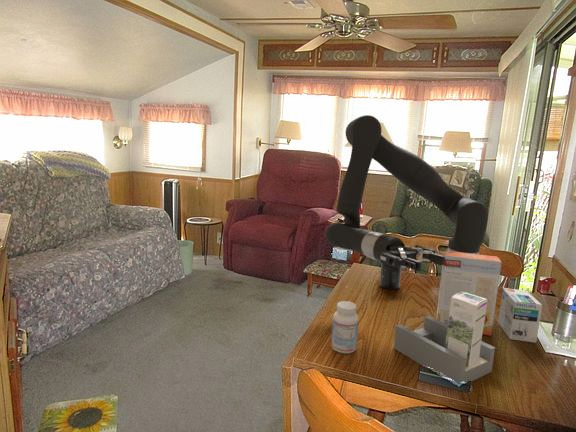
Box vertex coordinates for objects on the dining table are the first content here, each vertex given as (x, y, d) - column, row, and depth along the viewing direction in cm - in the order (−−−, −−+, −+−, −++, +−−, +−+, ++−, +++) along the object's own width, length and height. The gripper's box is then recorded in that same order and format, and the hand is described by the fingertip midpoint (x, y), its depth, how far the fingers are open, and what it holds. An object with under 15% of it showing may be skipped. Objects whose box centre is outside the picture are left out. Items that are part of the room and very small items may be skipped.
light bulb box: (536, 343, 104) (543, 304, 102) (508, 340, 105) (515, 301, 103) (522, 325, 114) (528, 289, 112) (496, 322, 116) (502, 287, 114)
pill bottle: (338, 339, 102) (341, 297, 100) (360, 347, 98) (364, 304, 96) (326, 348, 97) (329, 305, 95) (349, 357, 93) (352, 312, 91)
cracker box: (488, 327, 112) (499, 255, 108) (491, 337, 106) (502, 261, 102) (435, 318, 116) (443, 249, 112) (435, 327, 111) (444, 254, 107)
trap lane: (425, 337, 105) (428, 315, 104) (491, 371, 90) (495, 347, 89) (393, 348, 98) (396, 325, 97) (458, 387, 84) (462, 361, 82)
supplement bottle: (376, 283, 143) (379, 251, 141) (393, 282, 145) (396, 250, 142) (385, 290, 136) (388, 256, 134) (403, 289, 138) (406, 256, 136)
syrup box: (479, 359, 89) (488, 297, 86) (468, 368, 85) (477, 304, 82) (454, 348, 93) (462, 289, 90) (442, 357, 89) (450, 295, 86)
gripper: (363, 237, 103) (413, 253, 90) (401, 231, 111) (452, 244, 98) (361, 265, 105) (410, 284, 92) (399, 257, 112) (449, 273, 99)
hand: (432, 263), depth 95 cm, fingers open, 8 cm apart
